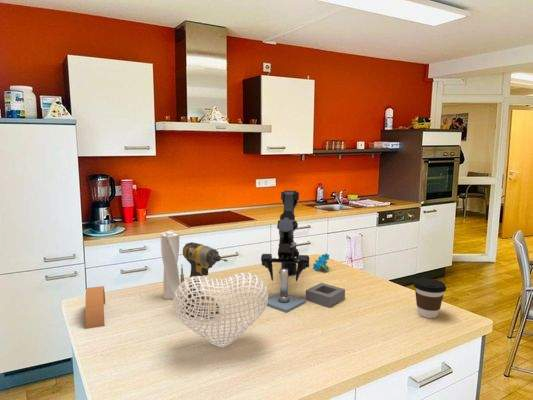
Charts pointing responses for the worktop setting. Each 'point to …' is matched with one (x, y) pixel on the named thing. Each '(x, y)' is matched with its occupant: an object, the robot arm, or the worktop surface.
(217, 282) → the heart
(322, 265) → the blue flower bunch
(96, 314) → the orange rectangular block
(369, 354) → the worktop surface
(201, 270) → the cordless drill
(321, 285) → the socket block
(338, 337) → the worktop surface
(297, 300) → the mat
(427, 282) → the coffee cup
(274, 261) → the robot arm
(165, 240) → the skyscraper
